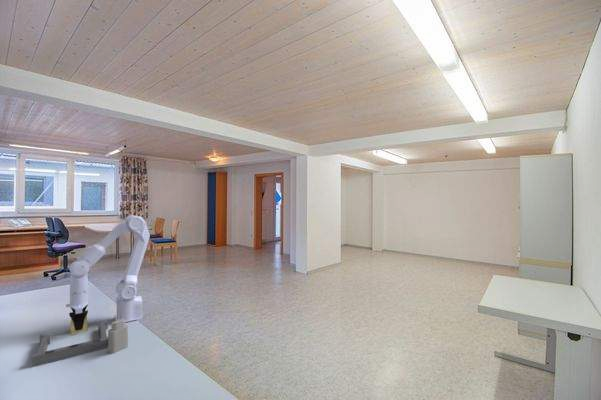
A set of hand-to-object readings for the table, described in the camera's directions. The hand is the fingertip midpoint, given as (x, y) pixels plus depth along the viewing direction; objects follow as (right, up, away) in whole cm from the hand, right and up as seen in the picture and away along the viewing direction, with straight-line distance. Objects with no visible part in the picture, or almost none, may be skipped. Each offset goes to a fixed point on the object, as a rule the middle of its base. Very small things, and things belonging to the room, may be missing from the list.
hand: (79, 326), depth 113 cm
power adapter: (+24, -2, -14) cm, 28 cm away
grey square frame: (+7, -2, -12) cm, 14 cm away
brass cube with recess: (0, -2, 0) cm, 2 cm away
